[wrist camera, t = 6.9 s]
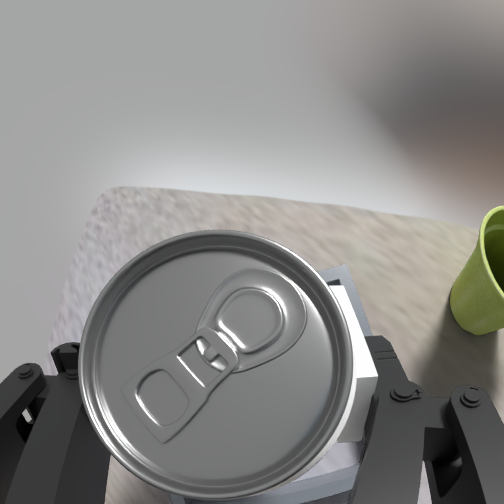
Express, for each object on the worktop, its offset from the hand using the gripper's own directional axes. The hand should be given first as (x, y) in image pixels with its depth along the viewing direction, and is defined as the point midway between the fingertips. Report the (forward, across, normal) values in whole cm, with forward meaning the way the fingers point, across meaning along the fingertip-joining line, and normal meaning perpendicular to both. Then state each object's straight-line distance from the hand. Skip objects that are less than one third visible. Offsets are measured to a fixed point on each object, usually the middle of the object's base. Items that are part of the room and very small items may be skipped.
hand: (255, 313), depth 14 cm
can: (0, 0, -6) cm, 6 cm away
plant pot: (+10, +19, -5) cm, 22 cm away
